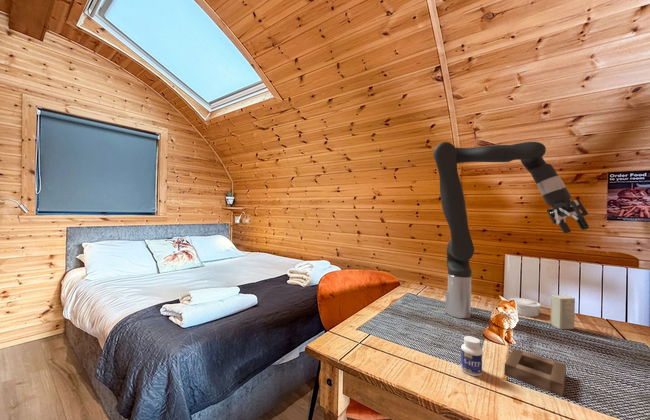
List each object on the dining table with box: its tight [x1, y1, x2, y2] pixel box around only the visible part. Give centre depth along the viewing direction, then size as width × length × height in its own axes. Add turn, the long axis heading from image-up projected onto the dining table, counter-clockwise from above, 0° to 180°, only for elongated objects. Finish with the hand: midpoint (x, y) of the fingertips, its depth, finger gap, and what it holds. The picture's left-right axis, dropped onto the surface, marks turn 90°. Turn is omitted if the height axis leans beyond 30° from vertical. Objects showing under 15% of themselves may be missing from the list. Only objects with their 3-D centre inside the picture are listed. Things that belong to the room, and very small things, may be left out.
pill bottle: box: [460, 335, 483, 377], centre depth 75 cm, size 5×5×9 cm
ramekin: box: [509, 297, 542, 318], centre depth 121 cm, size 11×11×5 cm
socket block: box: [504, 348, 567, 397], centre depth 74 cm, size 12×12×3 cm
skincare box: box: [550, 294, 576, 330], centre depth 106 cm, size 6×4×12 cm
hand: (576, 231), depth 97 cm, fingers open, 8 cm apart
